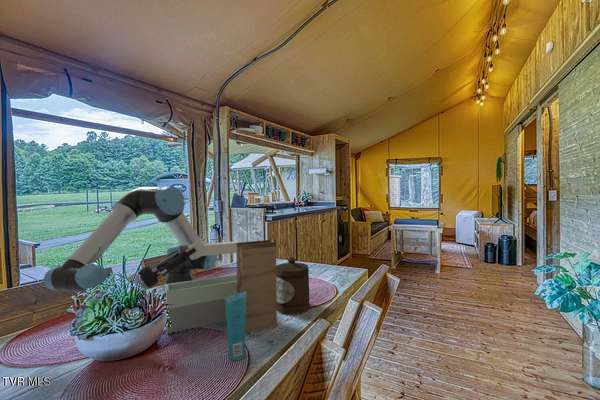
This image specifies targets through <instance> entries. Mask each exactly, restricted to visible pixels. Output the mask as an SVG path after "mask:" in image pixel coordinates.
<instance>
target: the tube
mask: <svg viewBox="0 0 600 400" xmlns="http://www.w3.org/2000/svg"><path fill="white" fill-rule="evenodd" d="M225 306H226V317H227V321H226V329H227V343H228V344H227V345H228V358H229V360H231V361H240V360H242V359H245V356H246V334H245V317H246V291H245V292H241V293H238V294H234V295H230V296H227V297H225Z"/></svg>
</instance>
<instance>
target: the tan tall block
mask: <svg viewBox="0 0 600 400" xmlns="http://www.w3.org/2000/svg"><path fill="white" fill-rule="evenodd" d="M276 266H277V242H276V241H271V240H270V239H262V240H254V241H253V240H252V241H251V240H250V241H239V242H238V243H237V253H236V274H237V294H238V293H241V292H245V291H246V317H245V335H246V334H250V333H253V332H258V331H262V330H267V329H270V328H274V327H277V325H278V322H277V321H278V317H277V315H278V311H277V289H276Z"/></svg>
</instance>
